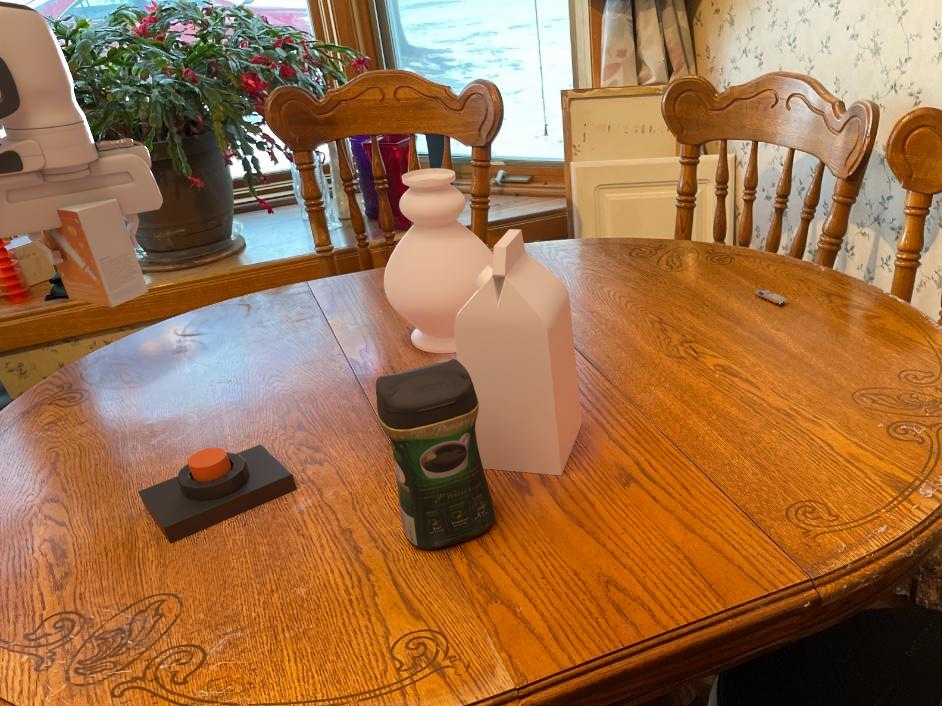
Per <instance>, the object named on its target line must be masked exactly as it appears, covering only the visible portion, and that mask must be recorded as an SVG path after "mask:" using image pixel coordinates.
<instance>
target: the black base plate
mask: <svg viewBox="0 0 942 706" xmlns="http://www.w3.org/2000/svg"><path fill="white" fill-rule="evenodd" d="M226 453H227V455H228V458H229V461H230V464H231V471H229V472H228V473H227V474H226V475H224V476H222V477H220V478H217V479H215V480H209V481H202V482H200V481H196V480H194V478H193V476H192V473H191V471H190V468H189V466H188V463H187V464H186V465H184V466H183V467H181V469H179V472H178V474H177V476H175V477H172V478H169V479H167V480H164V481H162V482H159V483H156V484H154V485H150V486H148V487H146V488H144V489H140V490H138V495H139V497H140V499H141V502H142V504H143V506H144V508H145V509H146V510H147V512H148V514H149V516H151V518H152V519H153V521H154V522H155V524H156V525H157V526H158V528H159V529H160V531H161V532H162V534H163V535H164V537H165V538H166V539H167V541H168V542H169V544H173V543H176V542H177V541H181V540H183V539H184V538H187V537H189V536H191V535H194V534H196V533H199V532H201V531H204V530H205V529H206V530H207V529H209V528H210V527H212V526H216V525H217V524H219V523H222V522H224V521H227V520H229V519H232V518H234V517H236V516H238V515H240V514H243V513H246V512H248V511H250V510H253V509H255V508H257V507H260V506H262V505H264V504H266V503H269V502H271V501H274V500H276V499H278V498H280V497H282V496H285V495H287V494H290V493H292V492H294V491H297V485H296V482H295V481H296V480H295V478H294V474H293V472H291V471H290V470H289V468H287V467H286V466H285V465H283V463H282V462H281V461H279V460H278V458H276V456H275V455H274V454H273V453H271V452H270V451H269V449H267V448H266V447H265V446H264V445H263V444H262V443H260V444H258V445H255V446H252V447H250V448H247V449H244V450H241V451H240V452H237V453H235V452H230V451H226Z"/></svg>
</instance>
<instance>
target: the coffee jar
mask: <svg viewBox="0 0 942 706" xmlns="http://www.w3.org/2000/svg"><path fill="white" fill-rule="evenodd" d="M375 395H376V415H377V419H378V422H379V425H380V427H381V429H382V430H383V432H384V433H385V435H386V436H387V437H388V439H389V442H390V445H391V449H392V454H393V455H392V456H393V461H394V466H395V475H396V484H397V496H398V507H399V514H400V520H401V525H402V530H403V532H404V535H405V536H406V539H408V541H409V542H410V544H411V545H413V546H415V547H417V548H418V549H423V550H425V551H429V550H438V549H442V548H446V547H450V546H453V545H456V544H457V545H458V544H459V543H463V542H465V541H468V540H471V539H473V538H475V537H479V536H480V535H483V534H484V533H486V532H487V531H488V530H490V529H491V528H492V526H493V524H494V523H495V520H496V513H495V506H494V503H493V498H492V494H491V491H490V487H489V483H488V481H487V477H486V474H485V469H483V466H482V462H481V458H480V454H479V450H478V445H477V438H476V430H475V424H476V419H477V415H478V411H479V402H478V399H477V395H476V392H475V389H474V385H473V382H472V380H471V377H470V375H469V373H468V371H467V370H466V368H465V367H464V366H463V365H462V364H461V363H460V362H459V361H458V360H457V358H451V359H449V360H447V361H442V362H436V363H432V364H428V365H425V366H420V367H417V368H411V369H408V370H404V371H400V372H396V373H395V372H394V373H392V374H389V375H381V376H378V377H377V378H376V380H375Z"/></svg>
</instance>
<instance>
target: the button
mask: <svg viewBox="0 0 942 706" xmlns="http://www.w3.org/2000/svg"><path fill="white" fill-rule="evenodd" d="M226 452H227V451H226V450H225V449H224V448H222V447H208V448H204V449H200V450H198V451H196V452H194V453H193V454H191V455H190V456H189V458H187V464H188V466H189V468H190V471H191V473H192V476H193V478H194V480H196V481H200V482H202V481H209V480H215V479H217V478H220V477H222V476H224V475H226V474H227V473H228V472H229V471H231V464H230V461H229V458H228V455H227V453H226Z"/></svg>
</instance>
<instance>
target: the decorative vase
mask: <svg viewBox="0 0 942 706" xmlns="http://www.w3.org/2000/svg"><path fill="white" fill-rule="evenodd" d="M456 177H457V176H456V172H455V171H454V170H452V169H449V168H442V167H441V168H440V167H439V168H438V167H436V168H435V167H433V168H422V169H421V168H420V169H415V170H410V171H408V172H406V173H403V174H402V175H401V181H402V184H403V185H405V186H407V187H409V188H408V189H407V190H406V191H405V192H404V193H403V194H402V196H401V197H400V199H399V203H398V205H399V206H398V207H399V210H400V213H401V214H402V216H404V217H405V218H406V219H407V220H409V221H410V222H411V223H412V225H411V226H410V228H409V229H408V230H407V231H406V232H405V234H403V236H402V237H401V238H400V240H399V241H398V243H397V245H396V246H395V247H394V249H393V251H392V253H391V254H390V257H389V258H388V261H387V264H386V266H385V269H384V274H383V288H384V293H385V297H386V299H387V301H388V303H389V304H390V306H391V307H392V308H393V309H394V310H395V311H396V312H397V313H398V314H399V316H401V317H402V318H403V319H404V320H405V321H407V322H408V323H409V324H410V325H412V326H413V327H414V328H415V329H414V330H413V331H412V332H411V335H410V340H411V343H412V345H413V346H414V347H415V348H416V349H418V350H421V351H423V352H426V353H430V354H431V353H432V354H454V353H456V343H455V333H454V324H455V321H456V317H457V314H458V313H459V311H460V310H461V309H462V308H463V307H464V305H465V304H466V303H467V302H468V301H469V299H470V298H471V297H472V296H473V295H474V294H475V292H476V291H477V290H478V289H477V288H476V287H475V286H473V285H472V283H473V282H474V281H475V279H476V278H477V277H478V276H479V275H480V274H481V272H482V271H483V270H484V269H485V268H486V267H487V265H489V266H490V267H491V268H493V252H492V251H491V249H490V248H489V246H487V245H486V244H485V242H484V241H483V240H482V239H480V238H479V237H478V235H476V234H475V233H474V232H473V231H471V230H470V229H469V228H468V227H466V226H465V225H464V224H462V222H460V221H458V218H459V217H460V216H461V215H462V213H463V212H464V210H465V208H466V205H467V202H466V201H467V200H466V198H465V196H464V194H463V193H462V192H461V190H459V189H458V188H457V187H455V186H454V185H452V184H451V183H453V182H454V181H456V179H457V178H456Z"/></svg>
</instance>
